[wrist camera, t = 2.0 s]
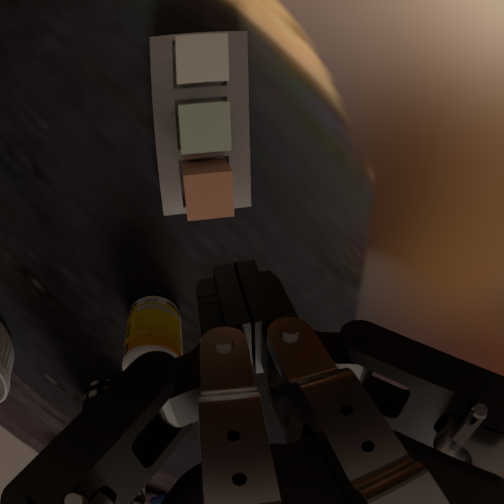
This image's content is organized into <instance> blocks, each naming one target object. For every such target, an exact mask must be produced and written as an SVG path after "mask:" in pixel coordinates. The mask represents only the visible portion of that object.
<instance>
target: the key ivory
mask: <svg viewBox="0 0 504 504" xmlns="http://www.w3.org/2000/svg"><path fill="white" fill-rule="evenodd" d="M175 41H176V72H177V85H188V84H201V83H216V82H225V81H229V52H228V33H208V34H191V35H179V36H175Z"/></svg>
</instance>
